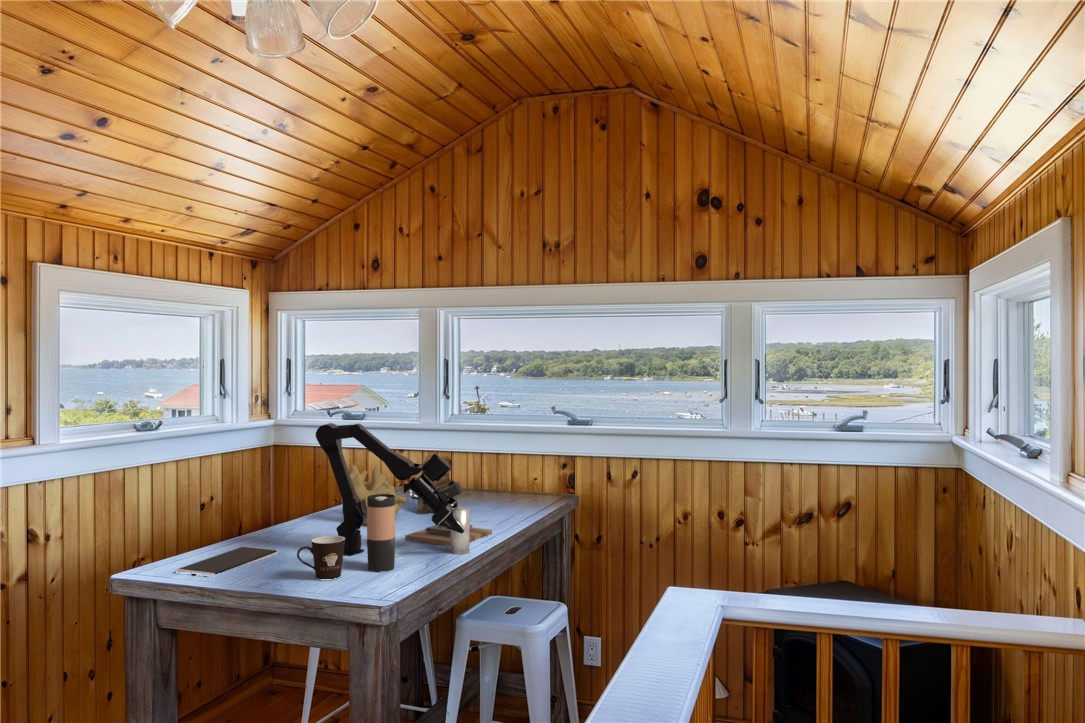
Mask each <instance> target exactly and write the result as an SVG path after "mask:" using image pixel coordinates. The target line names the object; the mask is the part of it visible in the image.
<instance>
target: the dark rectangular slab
mask: <svg viewBox="0 0 1085 723" xmlns="http://www.w3.org/2000/svg"><path fill="white" fill-rule="evenodd" d="M275 554H277V555H278V554H279V550H278V549H272V548H262V547H253V546H240V547H237V548H235V549H232V550H228V551H226V552H222V553H220V554H217V555H214V556H212V557H208V558H205V559H202V560H200V561H197V562H196V561H195V562H194V563H191V564H188V565H186V566H181V567H179V568H176V569H175V570H174V572H175V571H178V572H190V573H192V572H193V573H202V574H209V575H216V574H218V573H222V572H225V571H227V570H231V569H233V568H237V567H240V566H242V565H245V564H249V563H252V562H255V561H258V560H261V559H263V560H265V559H264V558H266V559H268V558H267V557H269V558H271V557H273V556H272V555H274V556H276V555H275ZM270 556H271V557H270ZM261 561H262V560H261ZM258 562H259V561H258ZM255 563H256V562H255ZM252 564H253V563H252Z"/></svg>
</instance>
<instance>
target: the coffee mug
mask: <svg viewBox="0 0 1085 723" xmlns="http://www.w3.org/2000/svg"><path fill="white" fill-rule="evenodd" d="M344 544H345V538H344V537H341V536H338V535H325V536H319V537H318V536H317V537H314V538H312V539H311V546H310V547H309V546H307V545H306V546H302V547H299V549H298V550H297V552H296V557H297V559H298V561H299V562H301V563H302V564H303V565H306V566H308V567H309V568H311V569H313V570H314V573H315V579H316V578H318V579H334V578H338V577H340V576H341V577H342V571H343V570H342V569H343V560H344V555H343V553H344ZM303 550H309V551H310V553H311V554H312V557H313V558H312V559H313V565H311V564H310V563H308V562H306V561H304V560H303V559H302V558H301V557H300V552H301V551H303ZM341 577H340V578H341ZM338 579H339V578H338Z"/></svg>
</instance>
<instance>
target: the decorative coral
mask: <svg viewBox="0 0 1085 723" xmlns="http://www.w3.org/2000/svg"><path fill="white" fill-rule="evenodd" d="M349 474H350V477H351V480H352V483H353V486H354V489H355V492H356V495H357V496H358V497H359V499H360V500H362V499H364V498H365V501H366V506H367V497H368V496H370V495H375V494H392V495H395V516H396V515H397V514H398V513H399V512H400V509H401V508H400V507H402V506H403V505H404V504H405V503H406V502H407V498H406V497H404V496H401V495H397V493H396V489H395V487H394V485H392V484H389V483H388V481H387V480H388V479H391V473H386V474H383V475H382V473H381V470H380V468H379V466H378V465H375V466H374V467H373V470H372V472H371V479H372V480H371V481H369V482H367V481H365V478H366V477H367V475H368V471H367V470H363V471H362V472H361V473H360V470H359V469H358V467H357V466H356V465H355V464H351V465H350V469H349ZM363 524H365V525H366V526H367V520H366V521H365V522H364V523H363Z"/></svg>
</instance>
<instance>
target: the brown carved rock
mask: <svg viewBox="0 0 1085 723" xmlns="http://www.w3.org/2000/svg"><path fill="white" fill-rule="evenodd" d="M431 457H432V456H431ZM431 457H429V456H426V457H425V462H424V464H425V463H426V462H427V461H428V460H429V459H430V458H431ZM443 459H445V460H446V461H447V462H448V463H449V464H450V463H451V462H450V460H448V459H446V458H443ZM423 472H424V471H423V470H422V473H423ZM424 476H425V477H426V478H427V479H428V480H429V481H430V482H431V483H432V484H433V485H434V486H435V487H436V488H437V487H440V488H441V489H444V488H446V487H448V483H449V482H450V481H452V480H451V479H450V470H449V471H448V472H447V473H446V474H445V475H444V476H443V477H442V478H441V479H440V480H439V481H436V480H435V481H434V482H433V481H431V480H430V479H429V478H428V477H427V476H426V475H425V474H424ZM417 500H418V501H417V515H429V513H432V512H433V511H432V510H431V509H430V508H429V507H428V506H427V505H426V504H425V505H424V504H423V501H422V500H421V499H420V498H419V497H418V499H417Z"/></svg>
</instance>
